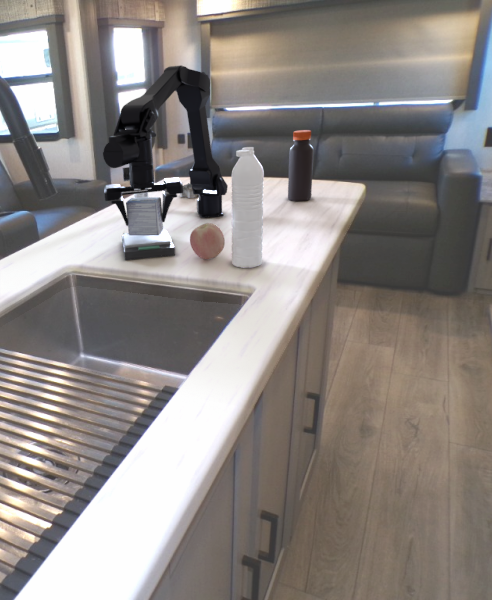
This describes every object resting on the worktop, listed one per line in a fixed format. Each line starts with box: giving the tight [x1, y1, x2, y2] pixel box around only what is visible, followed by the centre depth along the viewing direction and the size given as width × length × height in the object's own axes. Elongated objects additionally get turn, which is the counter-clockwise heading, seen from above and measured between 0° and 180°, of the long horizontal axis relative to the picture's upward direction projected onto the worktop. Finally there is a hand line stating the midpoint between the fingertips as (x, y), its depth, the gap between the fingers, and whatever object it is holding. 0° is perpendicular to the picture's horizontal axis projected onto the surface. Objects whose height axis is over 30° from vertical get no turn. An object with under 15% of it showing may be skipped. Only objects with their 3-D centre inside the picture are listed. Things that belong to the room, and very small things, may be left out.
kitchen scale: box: [121, 228, 176, 261], centre depth 134 cm, size 12×14×3 cm
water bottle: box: [230, 146, 265, 269], centre depth 113 cm, size 9×6×25 cm
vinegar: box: [287, 129, 315, 202], centre depth 161 cm, size 7×7×20 cm
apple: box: [189, 222, 226, 260], centre depth 123 cm, size 8×8×8 cm
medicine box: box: [125, 196, 164, 236], centre depth 133 cm, size 8×4×9 cm, turn 71°
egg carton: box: [179, 182, 199, 199], centre depth 183 cm, size 11×8×4 cm
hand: (145, 223), depth 133 cm, fingers closed on medicine box, 9 cm apart
